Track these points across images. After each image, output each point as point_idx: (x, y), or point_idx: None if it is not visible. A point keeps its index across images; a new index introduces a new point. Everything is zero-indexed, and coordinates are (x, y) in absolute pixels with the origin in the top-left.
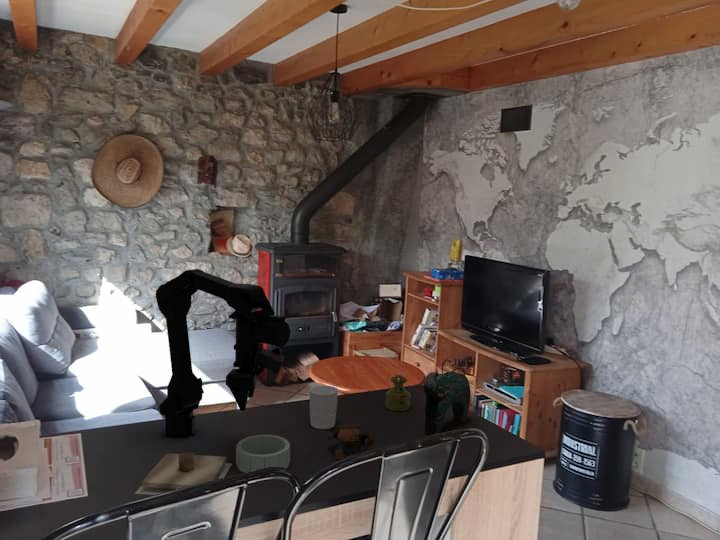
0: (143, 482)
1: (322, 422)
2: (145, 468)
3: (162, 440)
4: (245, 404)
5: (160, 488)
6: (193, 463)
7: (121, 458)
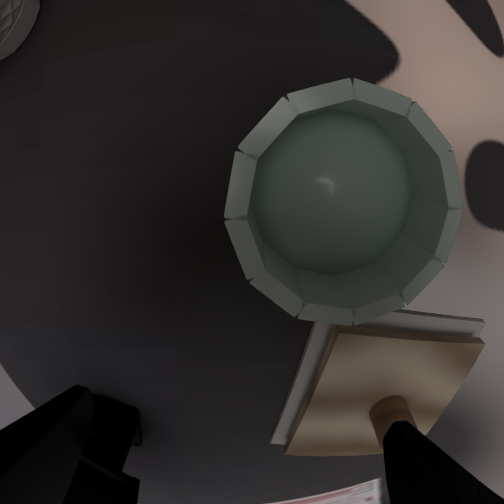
0: None
1: (25, 7)
2: (297, 455)
3: (150, 443)
4: (442, 452)
5: None
6: (402, 406)
7: (245, 482)
